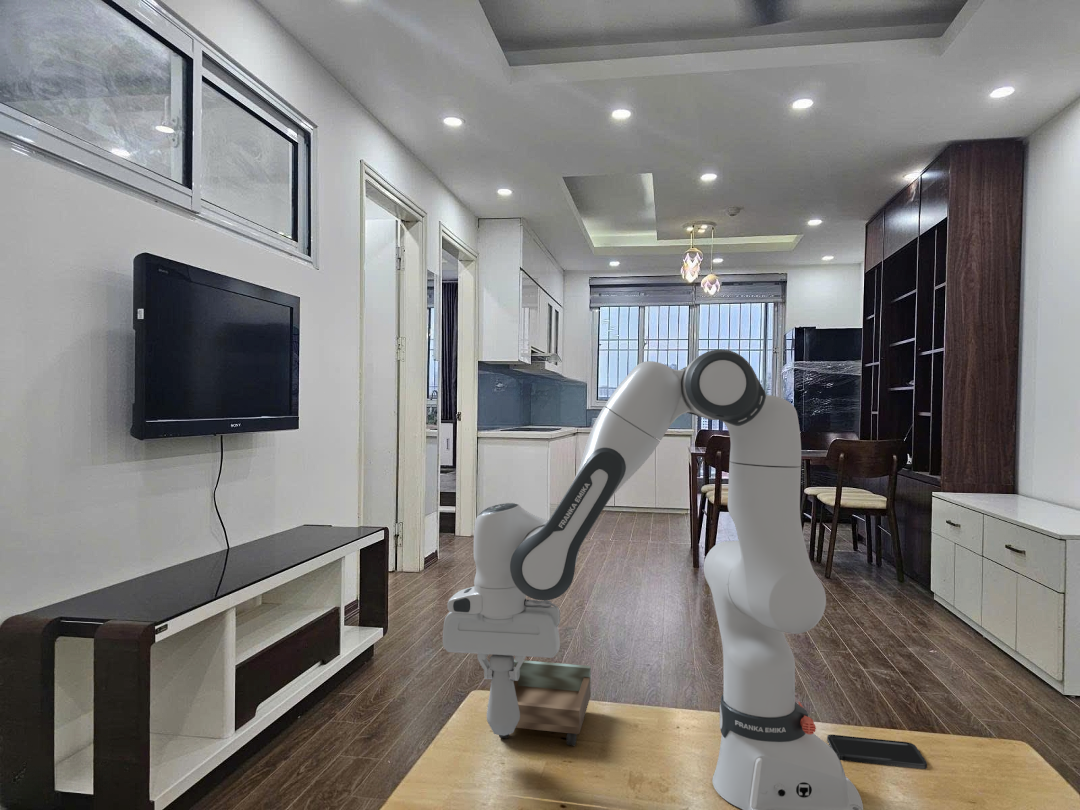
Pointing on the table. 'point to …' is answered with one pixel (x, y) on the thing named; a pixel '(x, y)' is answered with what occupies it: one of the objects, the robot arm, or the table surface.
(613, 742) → the table surface
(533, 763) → the table surface
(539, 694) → the open wooden tray
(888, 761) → the phone
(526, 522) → the robot arm
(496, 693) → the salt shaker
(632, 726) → the table surface
